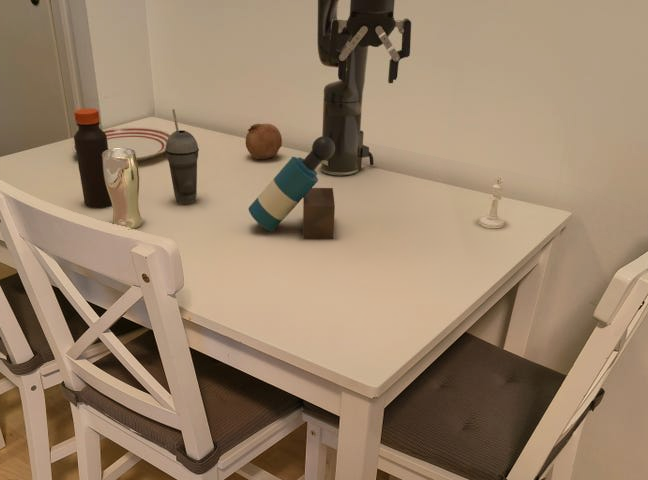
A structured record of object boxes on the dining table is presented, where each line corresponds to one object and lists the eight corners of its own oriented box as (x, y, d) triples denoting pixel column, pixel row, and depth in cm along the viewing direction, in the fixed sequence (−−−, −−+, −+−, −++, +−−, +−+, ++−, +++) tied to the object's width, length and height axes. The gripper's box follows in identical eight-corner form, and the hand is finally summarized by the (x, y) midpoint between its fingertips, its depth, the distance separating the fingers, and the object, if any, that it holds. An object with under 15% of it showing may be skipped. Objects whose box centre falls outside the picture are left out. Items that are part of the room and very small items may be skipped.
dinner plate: (169, 169, 174) (167, 156, 172) (61, 169, 174) (59, 156, 172) (182, 138, 196) (181, 126, 195) (87, 139, 197) (85, 127, 195)
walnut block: (303, 238, 136) (303, 205, 133) (302, 219, 145) (303, 187, 141) (333, 239, 136) (334, 205, 132) (331, 220, 145) (332, 187, 141)
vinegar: (120, 204, 153) (107, 112, 142) (90, 210, 150) (75, 116, 139) (109, 195, 158) (96, 105, 147) (80, 201, 155) (65, 109, 144)
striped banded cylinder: (247, 235, 138) (245, 141, 128) (249, 222, 144) (248, 131, 133) (331, 236, 138) (336, 141, 127) (330, 223, 143) (334, 131, 133)
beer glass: (112, 218, 146) (102, 147, 138) (145, 217, 147) (137, 146, 138) (109, 231, 140) (98, 158, 132) (143, 230, 141) (134, 157, 133)
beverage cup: (196, 208, 151) (190, 114, 140) (165, 206, 152) (156, 112, 141) (206, 196, 157) (200, 106, 146) (175, 194, 158) (167, 104, 147)
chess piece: (490, 230, 139) (499, 182, 134) (474, 222, 143) (481, 175, 138) (508, 225, 141) (518, 178, 136) (492, 217, 145) (500, 171, 139)
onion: (252, 171, 181) (234, 139, 175) (260, 152, 187) (243, 120, 181) (284, 161, 177) (267, 128, 170) (291, 142, 183) (275, 109, 176)
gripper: (413, -21, 119) (403, 78, 128) (331, -21, 119) (327, 78, 128) (419, -18, 112) (408, 87, 121) (332, -18, 113) (328, 86, 122)
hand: (366, 82), depth 125 cm, fingers open, 8 cm apart
